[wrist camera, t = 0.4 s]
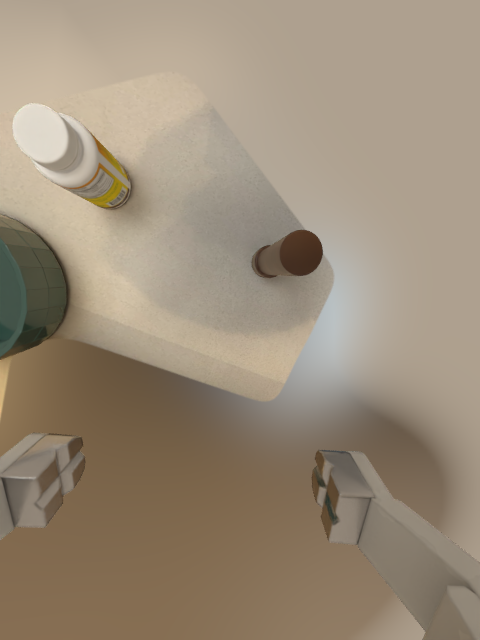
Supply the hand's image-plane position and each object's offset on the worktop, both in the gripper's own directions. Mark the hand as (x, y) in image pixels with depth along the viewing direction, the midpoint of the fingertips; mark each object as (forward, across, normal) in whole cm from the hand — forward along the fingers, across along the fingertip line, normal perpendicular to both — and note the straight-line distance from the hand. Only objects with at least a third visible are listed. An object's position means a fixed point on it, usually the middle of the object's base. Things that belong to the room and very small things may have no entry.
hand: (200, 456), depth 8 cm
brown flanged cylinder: (+24, -4, -7) cm, 26 cm away
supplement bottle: (+24, +15, -14) cm, 32 cm away
